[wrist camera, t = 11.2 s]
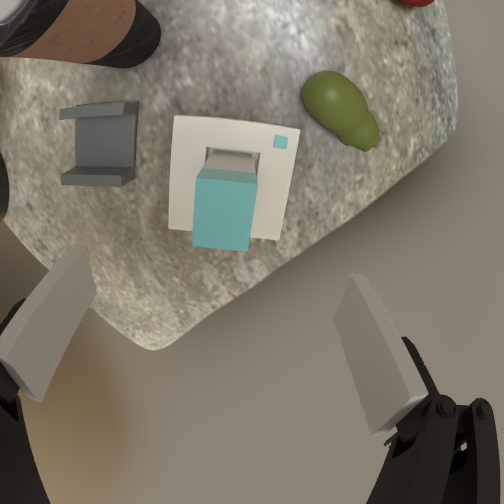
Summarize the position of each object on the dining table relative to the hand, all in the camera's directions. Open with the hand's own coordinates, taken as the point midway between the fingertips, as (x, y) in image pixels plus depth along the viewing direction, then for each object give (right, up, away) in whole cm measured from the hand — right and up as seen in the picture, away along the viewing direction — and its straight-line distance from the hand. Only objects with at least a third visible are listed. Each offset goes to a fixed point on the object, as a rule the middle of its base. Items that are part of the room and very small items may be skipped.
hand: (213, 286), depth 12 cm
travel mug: (-11, +24, +9) cm, 28 cm away
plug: (-1, +10, +17) cm, 20 cm away
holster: (-15, +14, +15) cm, 25 cm away
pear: (+11, +17, +14) cm, 25 cm away
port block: (-1, +10, +17) cm, 20 cm away
